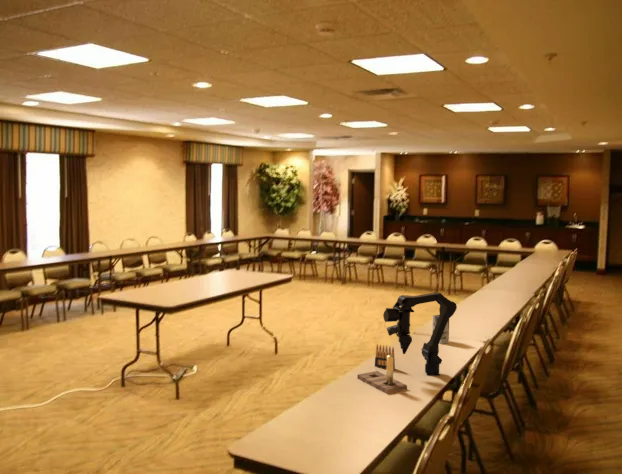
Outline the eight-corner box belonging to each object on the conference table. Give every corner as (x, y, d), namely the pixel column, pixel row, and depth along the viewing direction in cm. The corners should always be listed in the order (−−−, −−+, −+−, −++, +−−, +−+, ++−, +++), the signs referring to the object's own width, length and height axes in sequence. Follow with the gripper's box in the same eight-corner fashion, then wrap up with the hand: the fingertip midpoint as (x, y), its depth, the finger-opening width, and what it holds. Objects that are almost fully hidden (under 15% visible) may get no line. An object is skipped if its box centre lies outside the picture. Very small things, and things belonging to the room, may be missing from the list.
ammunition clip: (374, 366, 300) (375, 344, 299) (375, 365, 302) (376, 343, 301) (393, 369, 295) (394, 347, 294) (394, 368, 297) (395, 346, 296)
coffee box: (449, 343, 347) (450, 317, 346) (440, 344, 344) (441, 318, 343) (439, 339, 355) (440, 314, 354) (431, 340, 353) (432, 315, 351)
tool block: (357, 378, 281) (357, 374, 281) (376, 374, 287) (376, 370, 286) (386, 393, 260) (386, 389, 260) (406, 389, 266) (407, 385, 266)
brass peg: (391, 386, 270) (391, 354, 269) (394, 388, 267) (394, 356, 266) (385, 386, 269) (385, 355, 268) (387, 389, 266) (388, 357, 265)
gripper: (386, 316, 291) (385, 345, 293) (389, 324, 273) (388, 356, 274) (408, 316, 291) (406, 346, 292) (412, 325, 272) (411, 356, 273)
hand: (402, 351), depth 283 cm, fingers open, 9 cm apart
